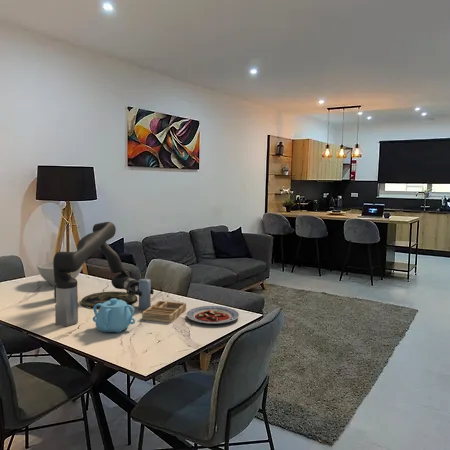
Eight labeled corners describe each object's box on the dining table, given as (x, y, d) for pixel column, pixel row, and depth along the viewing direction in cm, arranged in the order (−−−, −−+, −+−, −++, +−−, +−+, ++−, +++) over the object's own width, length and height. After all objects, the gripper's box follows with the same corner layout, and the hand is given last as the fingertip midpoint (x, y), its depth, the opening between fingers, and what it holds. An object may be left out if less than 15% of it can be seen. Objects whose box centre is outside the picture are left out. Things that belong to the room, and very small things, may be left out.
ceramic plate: (217, 331, 182) (217, 325, 182) (175, 319, 198) (175, 313, 198) (249, 317, 203) (249, 311, 203) (209, 306, 218) (209, 301, 218)
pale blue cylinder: (147, 310, 209) (147, 281, 208) (136, 309, 211) (136, 280, 209) (152, 307, 215) (152, 279, 213) (142, 305, 217) (142, 278, 215)
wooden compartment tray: (171, 322, 192) (171, 315, 192) (142, 319, 196) (142, 312, 195) (186, 310, 211) (186, 303, 211) (159, 307, 215) (159, 300, 215)
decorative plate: (127, 307, 208) (70, 304, 211) (127, 311, 209) (70, 308, 211) (144, 292, 238) (94, 290, 241) (144, 295, 238) (94, 293, 241)
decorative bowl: (74, 276, 279) (74, 259, 278) (89, 284, 258) (89, 265, 257) (32, 282, 262) (31, 263, 261) (45, 291, 241) (44, 271, 240)
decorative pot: (91, 326, 186) (90, 297, 184) (125, 320, 194) (125, 292, 193) (100, 338, 172) (99, 306, 171) (137, 331, 180) (137, 301, 179)
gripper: (120, 281, 219) (133, 288, 205) (145, 277, 227) (159, 284, 214) (120, 295, 219) (133, 302, 206) (145, 291, 228) (159, 298, 215)
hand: (146, 293), depth 210 cm, fingers closed on pale blue cylinder, 6 cm apart
